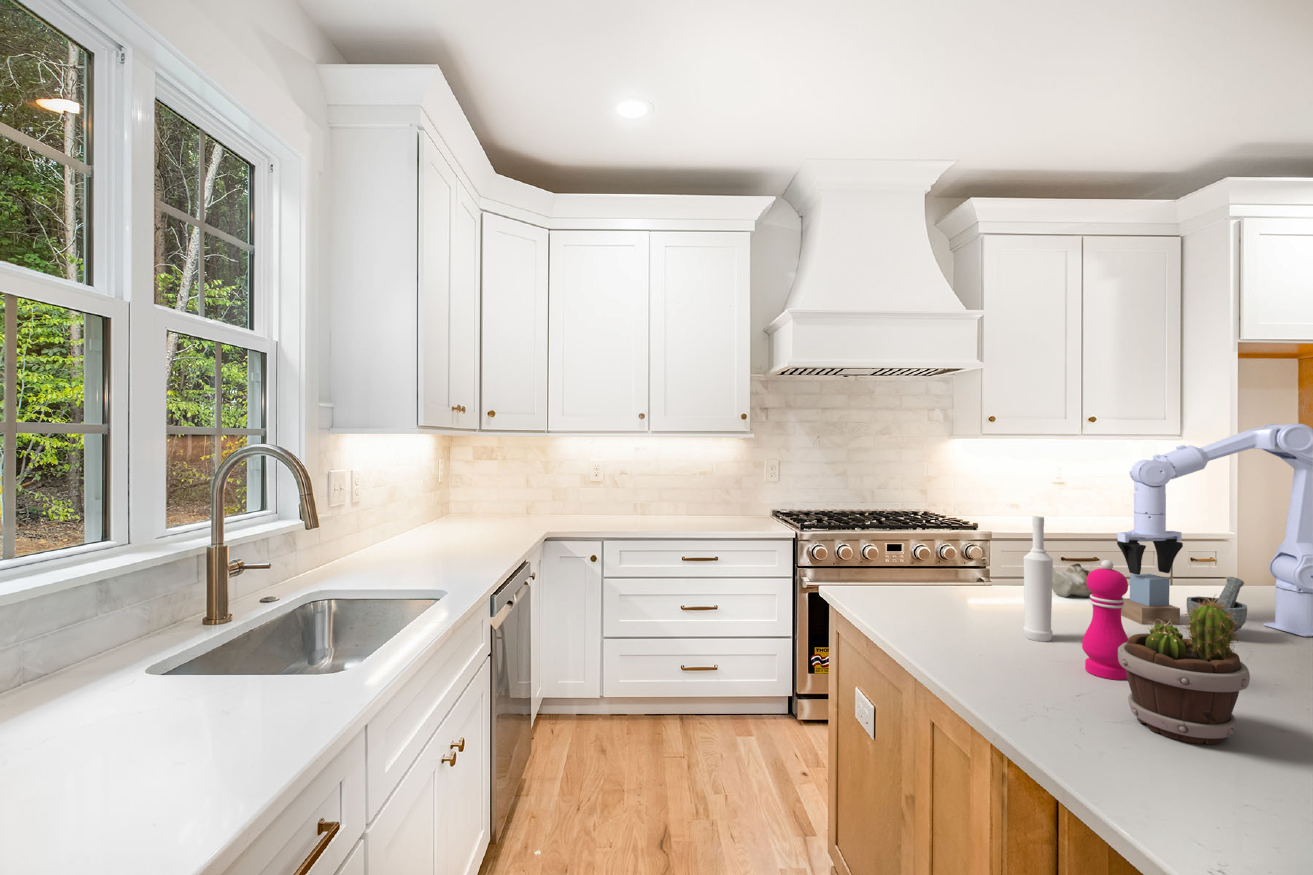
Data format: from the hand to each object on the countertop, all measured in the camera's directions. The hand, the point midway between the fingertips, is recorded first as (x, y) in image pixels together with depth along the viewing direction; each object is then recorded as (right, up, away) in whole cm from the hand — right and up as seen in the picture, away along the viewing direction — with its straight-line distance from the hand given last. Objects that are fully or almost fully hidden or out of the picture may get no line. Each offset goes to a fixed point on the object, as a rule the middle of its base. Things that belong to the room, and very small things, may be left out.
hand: (1149, 572), depth 144 cm
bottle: (-33, -11, -13) cm, 37 cm away
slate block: (0, -7, 0) cm, 7 cm away
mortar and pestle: (+5, -11, -12) cm, 17 cm away
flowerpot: (-37, -11, -53) cm, 65 cm away
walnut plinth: (-1, -11, 0) cm, 11 cm away
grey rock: (-3, -11, +20) cm, 23 cm away
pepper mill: (-32, -11, -32) cm, 47 cm away
